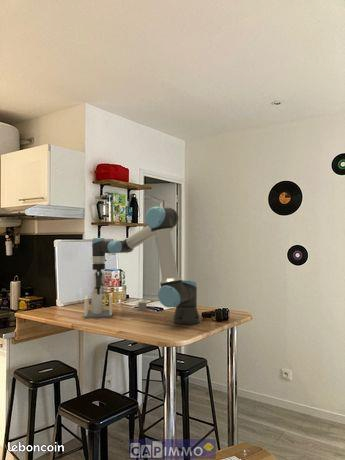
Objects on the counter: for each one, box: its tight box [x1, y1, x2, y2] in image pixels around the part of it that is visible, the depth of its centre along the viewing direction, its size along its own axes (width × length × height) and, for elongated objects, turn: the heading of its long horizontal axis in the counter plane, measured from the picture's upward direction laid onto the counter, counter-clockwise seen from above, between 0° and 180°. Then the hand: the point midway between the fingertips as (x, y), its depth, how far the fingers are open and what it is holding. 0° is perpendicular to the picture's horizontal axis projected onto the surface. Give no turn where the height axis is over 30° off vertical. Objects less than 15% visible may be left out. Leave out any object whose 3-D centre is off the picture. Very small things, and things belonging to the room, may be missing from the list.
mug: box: [90, 292, 107, 314], centre depth 220 cm, size 10×7×12 cm, turn 131°
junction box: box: [137, 300, 148, 312], centre depth 237 cm, size 6×5×5 cm
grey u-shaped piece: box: [83, 294, 113, 320], centre depth 218 cm, size 14×16×12 cm
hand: (99, 298), depth 218 cm, fingers open, 13 cm apart
